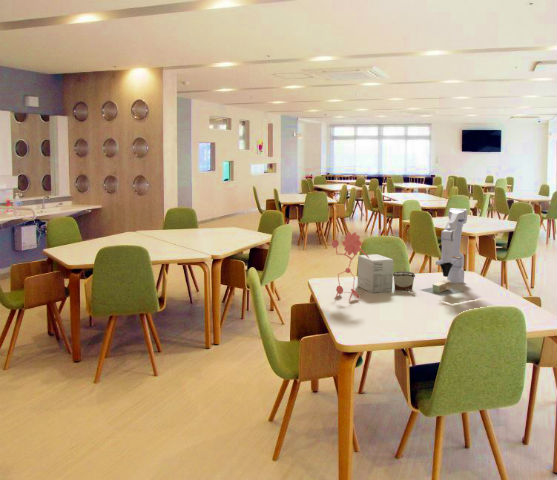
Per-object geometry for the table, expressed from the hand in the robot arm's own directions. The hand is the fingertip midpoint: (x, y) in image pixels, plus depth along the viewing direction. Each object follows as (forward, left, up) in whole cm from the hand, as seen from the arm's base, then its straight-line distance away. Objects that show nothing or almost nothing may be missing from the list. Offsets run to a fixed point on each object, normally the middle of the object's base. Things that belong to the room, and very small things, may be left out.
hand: (445, 276), depth 325 cm
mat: (+2, 0, -9) cm, 9 cm away
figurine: (+51, -19, -9) cm, 55 cm away
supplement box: (+28, -26, -9) cm, 39 cm away
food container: (+16, -16, -9) cm, 24 cm away
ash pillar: (-2, 0, -4) cm, 5 cm away
